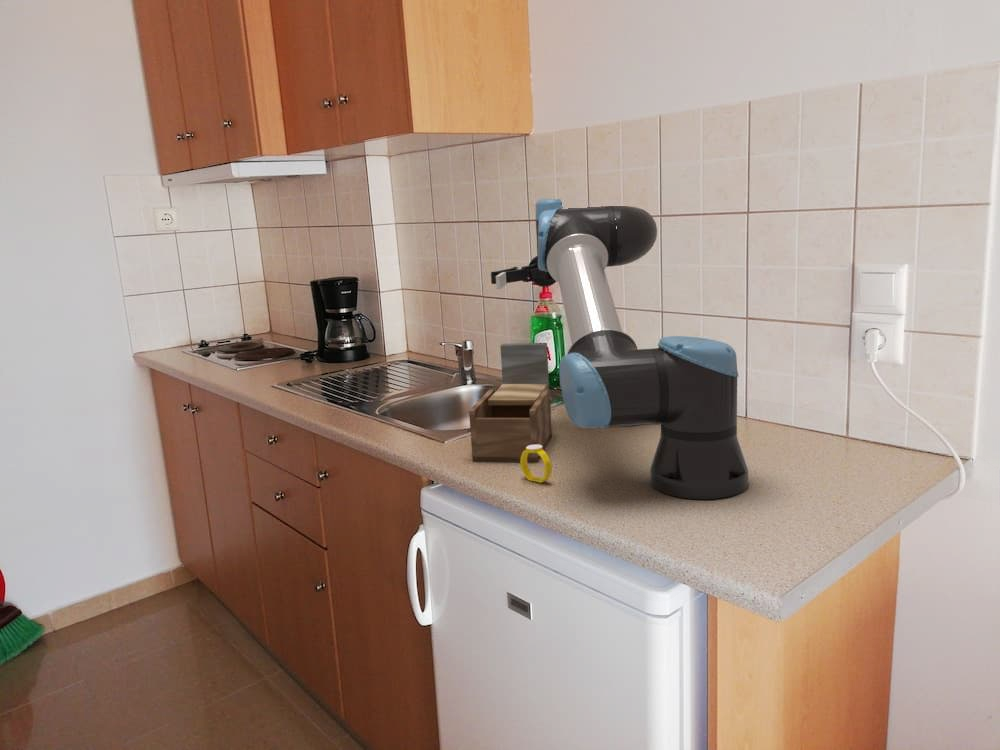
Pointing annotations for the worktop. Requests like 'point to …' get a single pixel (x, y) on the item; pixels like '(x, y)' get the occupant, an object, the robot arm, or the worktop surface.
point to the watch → (545, 458)
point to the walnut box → (509, 429)
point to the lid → (522, 374)
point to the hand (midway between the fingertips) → (529, 281)
